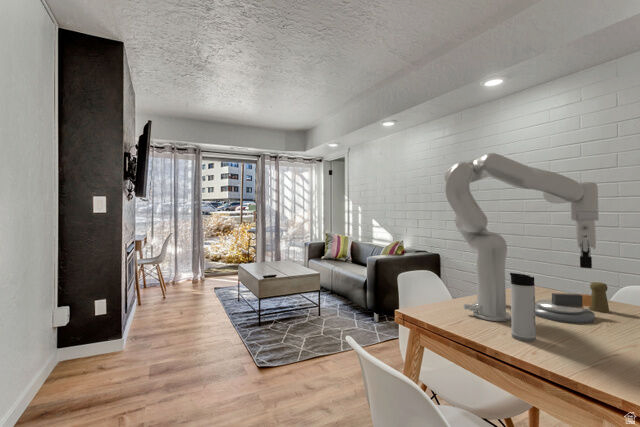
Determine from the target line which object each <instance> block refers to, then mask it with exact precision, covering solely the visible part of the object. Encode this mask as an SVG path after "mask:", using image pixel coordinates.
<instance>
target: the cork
mask: <svg viewBox="0 0 640 427" xmlns="http://www.w3.org/2000/svg"><path fill="white" fill-rule="evenodd" d="M589 287H590V290H591V299H592V307H591V306H588V307H589V309H590V311H592V312H596V313H604V314H606V313H607V314H609V313H610V307H609V306H610V305H609V302H608V295H607V291H608V285H607V283H605V282H604V283H603V282H600V281H599V282H598V281H594V282H590V284H589Z"/></svg>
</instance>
